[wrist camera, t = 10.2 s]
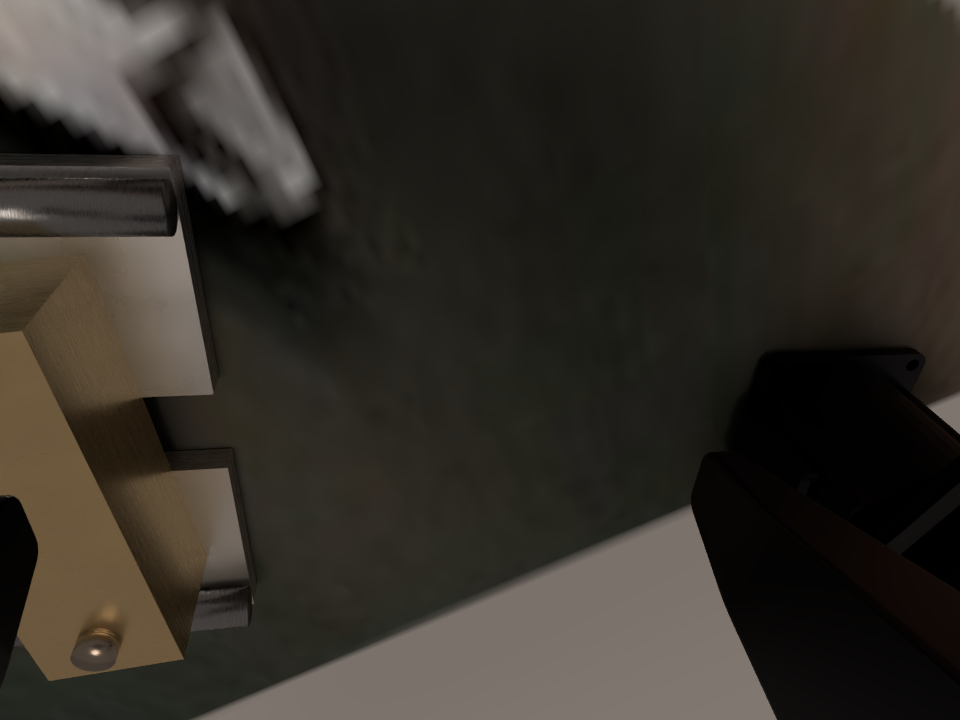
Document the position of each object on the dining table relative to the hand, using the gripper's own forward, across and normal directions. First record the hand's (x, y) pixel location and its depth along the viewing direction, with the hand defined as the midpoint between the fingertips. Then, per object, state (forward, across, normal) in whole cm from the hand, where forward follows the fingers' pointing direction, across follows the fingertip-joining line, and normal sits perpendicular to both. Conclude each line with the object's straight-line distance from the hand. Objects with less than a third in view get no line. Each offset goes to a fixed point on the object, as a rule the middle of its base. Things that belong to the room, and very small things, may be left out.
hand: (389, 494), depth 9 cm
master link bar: (+11, +9, +8) cm, 16 cm away
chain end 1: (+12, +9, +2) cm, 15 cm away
